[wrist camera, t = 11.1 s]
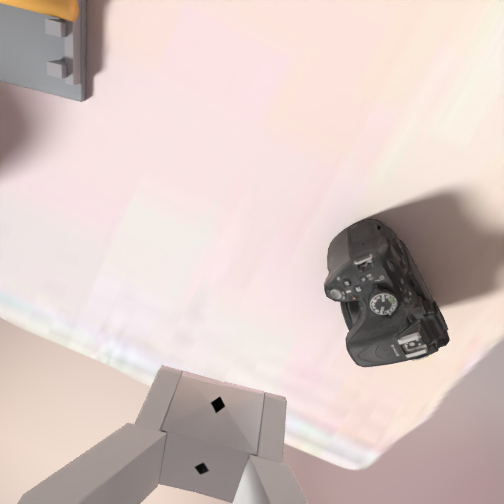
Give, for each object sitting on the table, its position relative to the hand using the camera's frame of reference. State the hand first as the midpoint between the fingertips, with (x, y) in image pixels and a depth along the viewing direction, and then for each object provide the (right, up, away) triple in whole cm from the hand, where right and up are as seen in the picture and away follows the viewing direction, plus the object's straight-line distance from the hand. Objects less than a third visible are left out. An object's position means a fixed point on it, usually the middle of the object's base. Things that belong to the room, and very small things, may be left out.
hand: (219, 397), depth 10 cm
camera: (+14, +1, +31) cm, 34 cm away
